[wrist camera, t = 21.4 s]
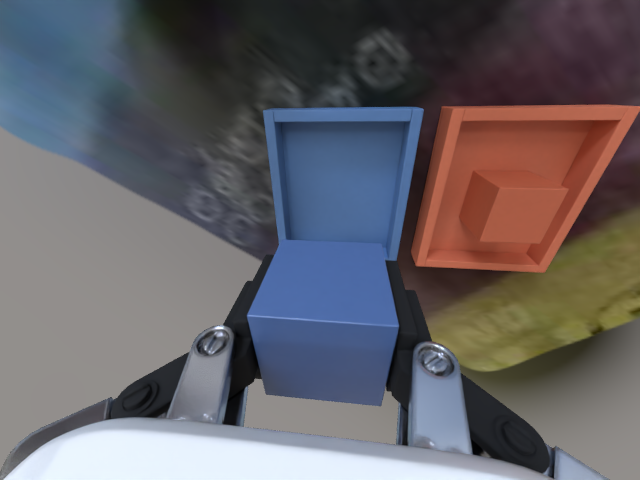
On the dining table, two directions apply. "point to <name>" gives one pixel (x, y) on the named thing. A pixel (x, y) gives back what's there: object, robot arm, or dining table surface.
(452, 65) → the dining table surface
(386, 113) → the slate-blue tray
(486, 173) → the terracotta block
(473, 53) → the dining table surface
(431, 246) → the terracotta tray
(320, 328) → the slate-blue block
